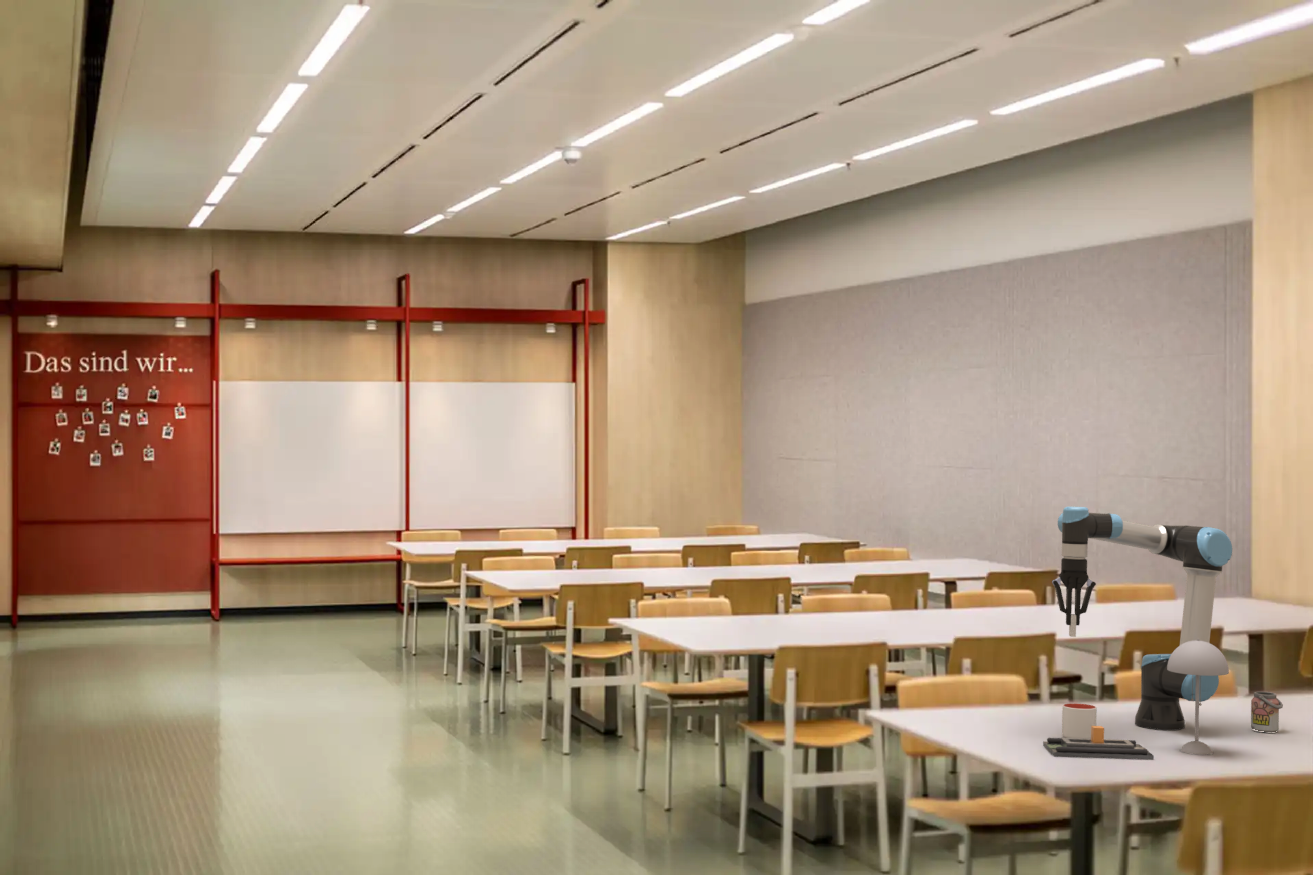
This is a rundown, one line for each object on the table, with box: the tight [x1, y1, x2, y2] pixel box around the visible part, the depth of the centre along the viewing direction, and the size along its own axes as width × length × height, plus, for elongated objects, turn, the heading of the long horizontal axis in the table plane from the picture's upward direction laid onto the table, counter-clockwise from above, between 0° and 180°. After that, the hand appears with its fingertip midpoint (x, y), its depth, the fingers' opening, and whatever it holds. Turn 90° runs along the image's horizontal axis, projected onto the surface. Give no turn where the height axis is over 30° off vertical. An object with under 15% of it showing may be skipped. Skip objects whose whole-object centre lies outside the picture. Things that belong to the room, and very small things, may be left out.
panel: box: [1042, 737, 1155, 761], centre depth 435 cm, size 28×16×3 cm, turn 86°
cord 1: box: [1046, 737, 1137, 745], centre depth 441 cm, size 26×1×1 cm, turn 86°
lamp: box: [1167, 639, 1230, 756], centre depth 439 cm, size 17×17×33 cm
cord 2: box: [1056, 747, 1149, 754], centre depth 428 cm, size 26×1×1 cm, turn 86°
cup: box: [1061, 702, 1098, 739], centre depth 455 cm, size 10×10×10 cm
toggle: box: [1089, 725, 1105, 743], centre depth 435 cm, size 4×3×6 cm
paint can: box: [1250, 691, 1284, 733], centre depth 473 cm, size 9×8×12 cm
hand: (1072, 636), depth 450 cm, fingers closed
